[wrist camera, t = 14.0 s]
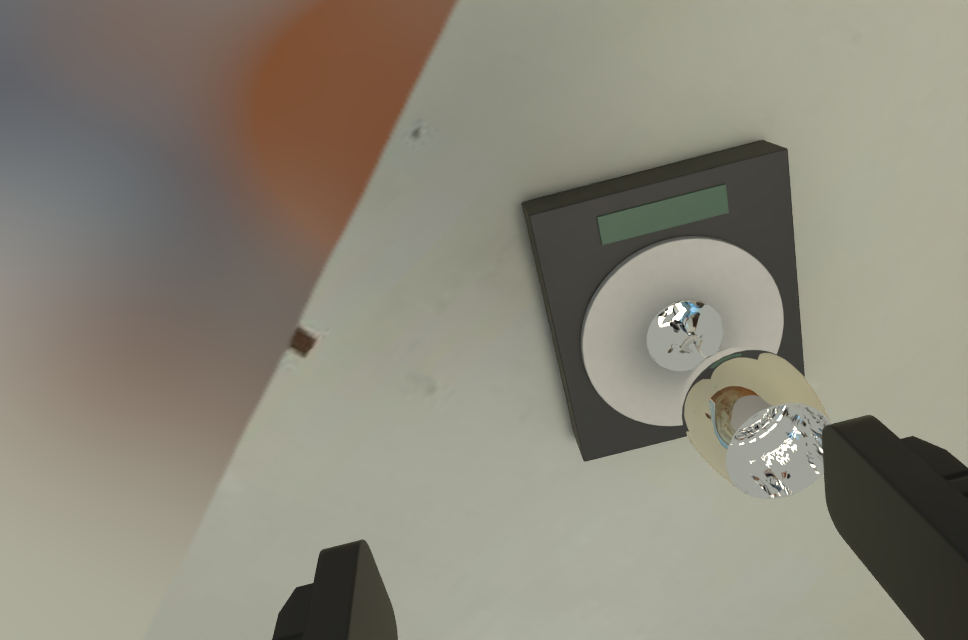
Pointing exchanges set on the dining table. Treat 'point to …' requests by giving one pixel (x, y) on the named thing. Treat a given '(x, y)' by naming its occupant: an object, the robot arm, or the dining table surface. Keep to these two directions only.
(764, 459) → the wineglass
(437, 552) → the dining table surface
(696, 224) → the scale
